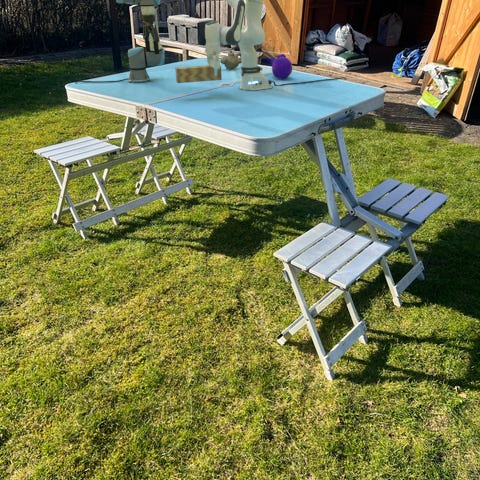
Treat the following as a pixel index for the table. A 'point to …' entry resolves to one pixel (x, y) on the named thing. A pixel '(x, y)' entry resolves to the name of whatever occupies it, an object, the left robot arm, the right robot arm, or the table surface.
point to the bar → (196, 74)
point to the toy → (280, 66)
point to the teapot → (231, 60)
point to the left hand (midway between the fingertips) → (152, 53)
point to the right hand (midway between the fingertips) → (214, 74)
